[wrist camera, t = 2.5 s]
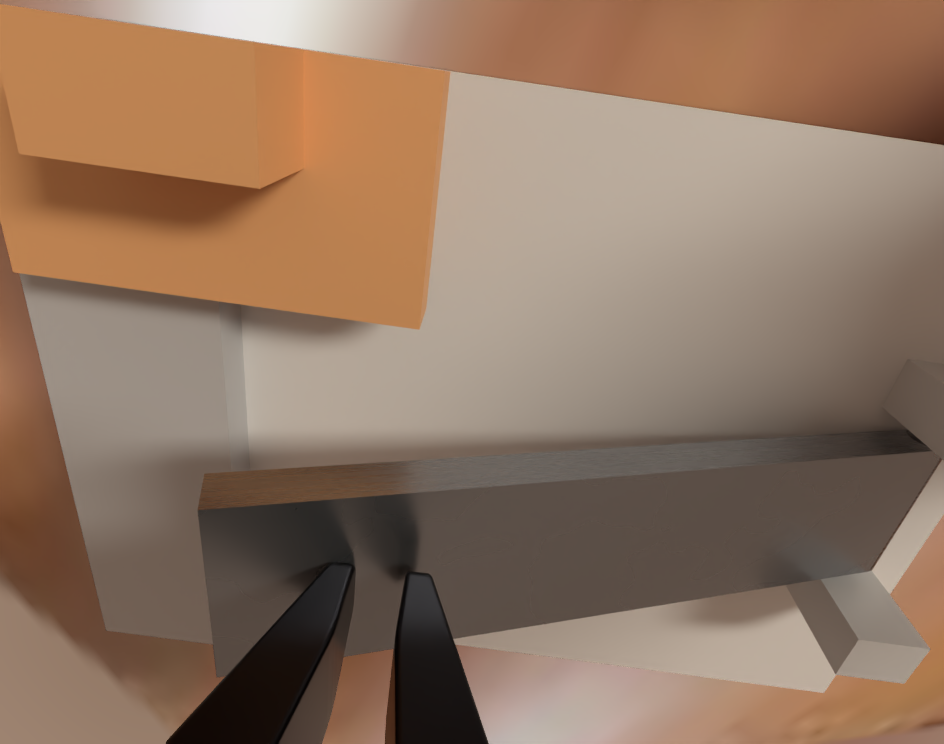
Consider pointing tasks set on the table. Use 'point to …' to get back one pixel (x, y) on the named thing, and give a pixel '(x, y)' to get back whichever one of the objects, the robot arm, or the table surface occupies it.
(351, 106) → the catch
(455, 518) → the grey flat bar
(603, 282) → the mount block
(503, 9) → the table surface
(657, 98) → the table surface
